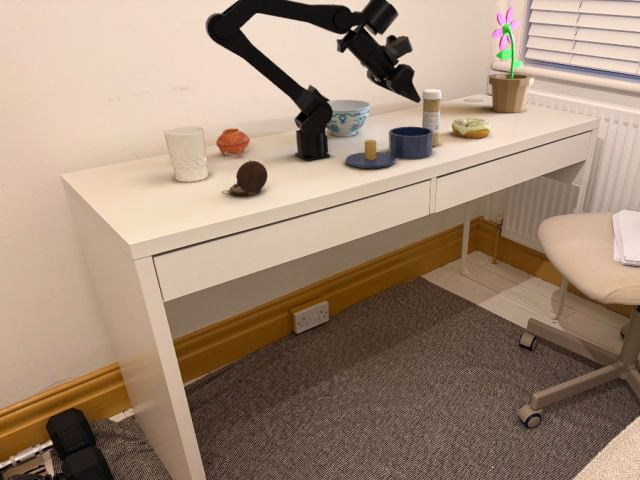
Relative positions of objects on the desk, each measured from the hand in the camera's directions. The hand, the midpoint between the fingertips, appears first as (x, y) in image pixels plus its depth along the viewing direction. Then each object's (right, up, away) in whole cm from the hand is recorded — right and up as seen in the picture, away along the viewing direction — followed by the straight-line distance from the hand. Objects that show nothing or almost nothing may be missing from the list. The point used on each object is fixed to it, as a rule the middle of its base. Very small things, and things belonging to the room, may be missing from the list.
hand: (412, 98), depth 135 cm
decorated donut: (+17, -4, +17) cm, 24 cm away
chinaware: (-18, -4, +19) cm, 26 cm away
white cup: (-48, -23, -16) cm, 56 cm away
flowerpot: (+34, +12, +47) cm, 59 cm away
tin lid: (-10, -17, -7) cm, 21 cm away
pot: (-43, -14, 0) cm, 46 cm away
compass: (-35, -28, -26) cm, 52 cm away
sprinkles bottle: (+5, -10, +7) cm, 13 cm away
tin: (0, -13, 0) cm, 13 cm away
